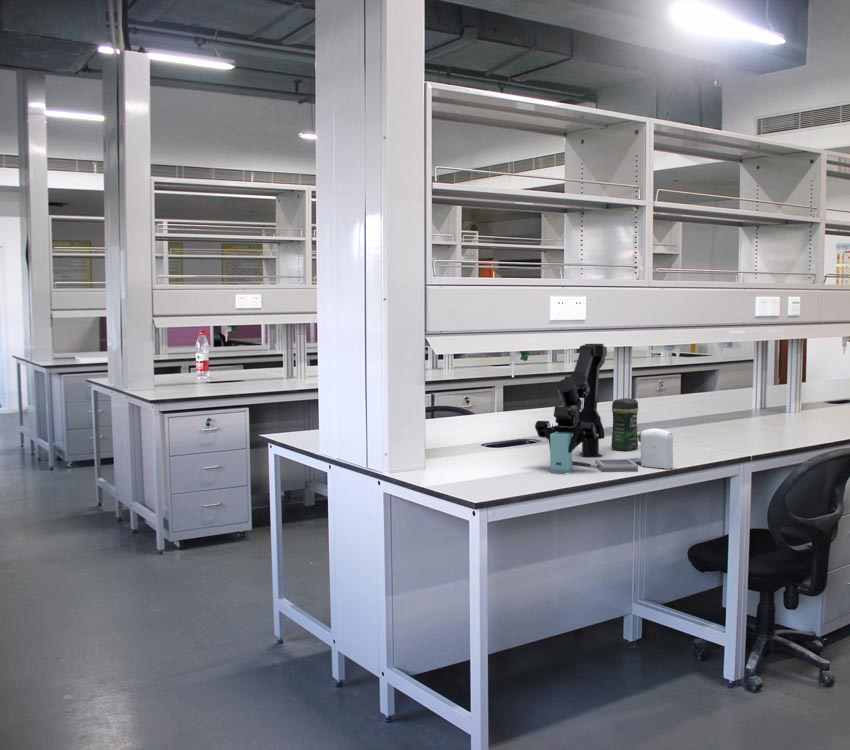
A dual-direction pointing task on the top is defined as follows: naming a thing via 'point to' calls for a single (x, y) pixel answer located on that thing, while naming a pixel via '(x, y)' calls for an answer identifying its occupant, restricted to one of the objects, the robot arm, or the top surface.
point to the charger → (560, 453)
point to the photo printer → (657, 448)
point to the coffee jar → (624, 424)
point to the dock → (616, 465)
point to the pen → (585, 464)
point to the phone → (636, 461)
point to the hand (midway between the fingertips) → (559, 451)
